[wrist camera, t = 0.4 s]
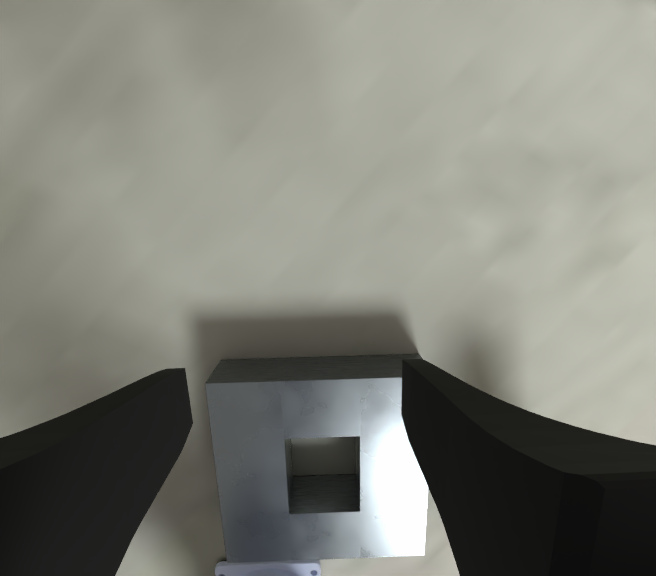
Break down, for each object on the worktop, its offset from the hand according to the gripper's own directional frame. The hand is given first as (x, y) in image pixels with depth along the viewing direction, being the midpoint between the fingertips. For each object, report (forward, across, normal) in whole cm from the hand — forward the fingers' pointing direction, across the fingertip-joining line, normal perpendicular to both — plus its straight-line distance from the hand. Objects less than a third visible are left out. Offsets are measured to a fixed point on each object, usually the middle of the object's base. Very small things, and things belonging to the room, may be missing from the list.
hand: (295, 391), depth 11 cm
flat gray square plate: (+10, -1, +10) cm, 14 cm away
